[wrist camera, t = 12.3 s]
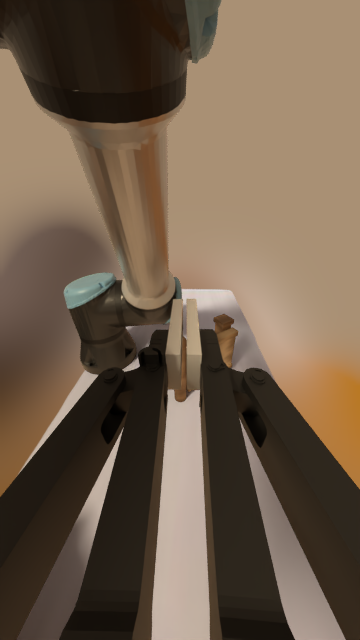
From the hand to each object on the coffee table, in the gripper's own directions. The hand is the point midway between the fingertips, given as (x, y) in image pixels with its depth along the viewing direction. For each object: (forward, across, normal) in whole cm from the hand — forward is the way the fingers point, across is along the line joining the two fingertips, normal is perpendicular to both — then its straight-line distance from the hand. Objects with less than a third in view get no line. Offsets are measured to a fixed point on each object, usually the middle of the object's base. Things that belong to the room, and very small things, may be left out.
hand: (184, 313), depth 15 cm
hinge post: (+13, -1, -29) cm, 32 cm away
